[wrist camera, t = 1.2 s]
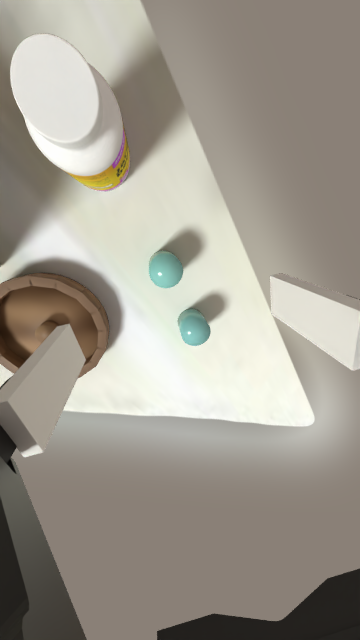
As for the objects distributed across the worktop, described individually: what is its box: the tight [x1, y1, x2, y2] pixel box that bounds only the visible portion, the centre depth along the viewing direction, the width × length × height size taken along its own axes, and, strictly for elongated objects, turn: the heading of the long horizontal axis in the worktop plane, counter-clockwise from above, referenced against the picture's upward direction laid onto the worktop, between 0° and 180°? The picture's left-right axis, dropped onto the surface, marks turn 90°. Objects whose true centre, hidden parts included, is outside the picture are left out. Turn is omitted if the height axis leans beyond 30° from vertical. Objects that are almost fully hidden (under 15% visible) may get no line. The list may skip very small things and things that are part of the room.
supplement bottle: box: [10, 33, 130, 191], centre depth 18 cm, size 7×7×13 cm
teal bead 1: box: [149, 251, 183, 288], centre depth 28 cm, size 4×4×4 cm
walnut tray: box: [0, 273, 109, 378], centre depth 29 cm, size 15×15×3 cm
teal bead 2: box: [178, 309, 210, 346], centre depth 32 cm, size 4×4×4 cm
